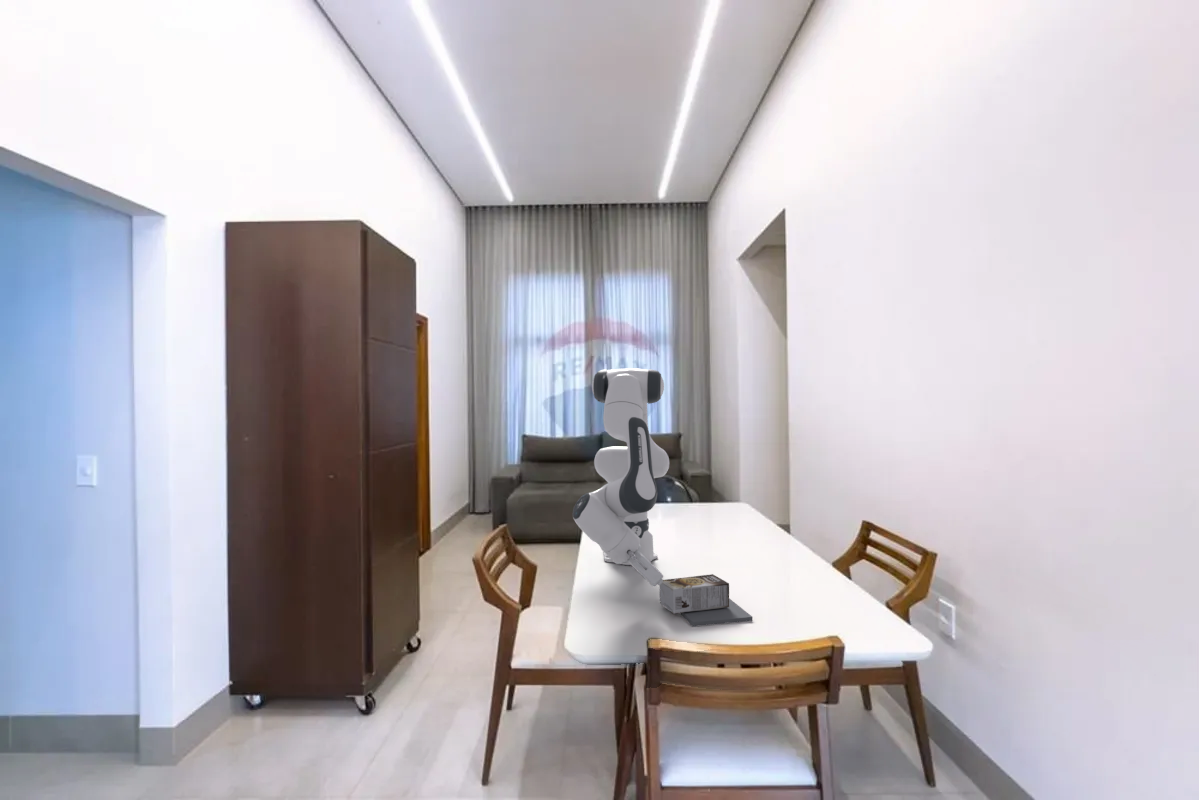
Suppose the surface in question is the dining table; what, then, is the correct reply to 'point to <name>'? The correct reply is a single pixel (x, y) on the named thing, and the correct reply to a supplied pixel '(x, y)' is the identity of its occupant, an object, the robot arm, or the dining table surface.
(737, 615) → the mat
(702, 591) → the coffee box
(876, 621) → the dining table surface
